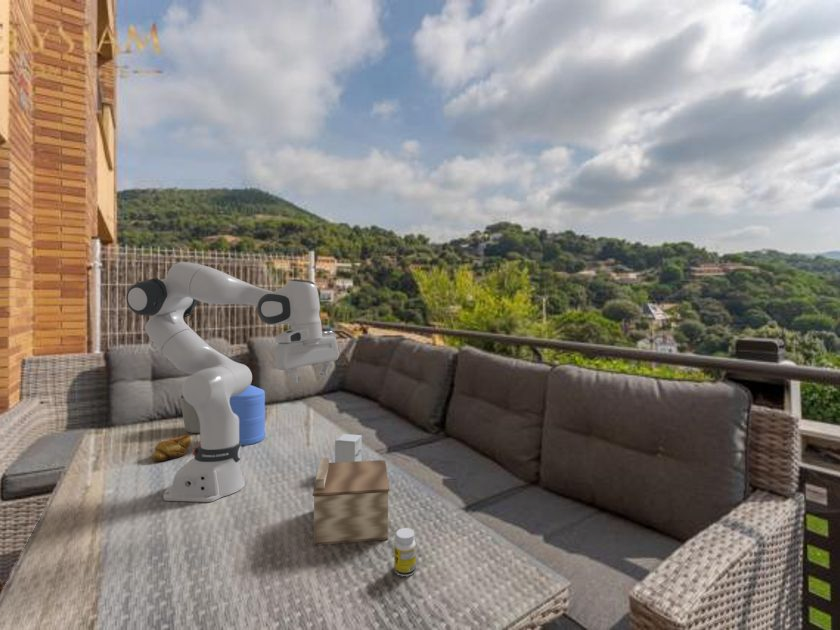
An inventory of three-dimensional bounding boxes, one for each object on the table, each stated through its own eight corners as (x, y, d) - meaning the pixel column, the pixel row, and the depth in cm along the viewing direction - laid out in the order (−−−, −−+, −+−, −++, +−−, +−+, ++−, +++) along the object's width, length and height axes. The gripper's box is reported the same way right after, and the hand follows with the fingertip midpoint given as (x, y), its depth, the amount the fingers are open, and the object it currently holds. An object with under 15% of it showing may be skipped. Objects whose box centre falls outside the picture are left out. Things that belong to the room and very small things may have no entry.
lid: (312, 496, 96) (312, 483, 96) (320, 465, 114) (320, 455, 114) (389, 491, 99) (389, 479, 99) (385, 462, 117) (385, 451, 117)
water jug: (272, 438, 173) (272, 374, 173) (239, 449, 160) (239, 380, 160) (250, 432, 182) (250, 371, 181) (217, 441, 169) (217, 376, 168)
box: (313, 545, 96) (314, 496, 96) (321, 507, 114) (321, 466, 114) (387, 539, 99) (388, 491, 99) (383, 503, 117) (384, 463, 117)
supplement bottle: (394, 563, 90) (394, 527, 90) (414, 562, 90) (415, 526, 90) (394, 578, 85) (394, 539, 85) (416, 577, 86) (416, 538, 85)
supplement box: (354, 478, 134) (354, 441, 133) (334, 476, 135) (334, 440, 135) (362, 470, 141) (362, 434, 141) (342, 468, 142) (342, 433, 142)
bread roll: (157, 465, 144) (157, 443, 143) (145, 459, 149) (145, 438, 149) (193, 454, 154) (193, 434, 154) (181, 449, 160) (181, 429, 160)
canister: (197, 423, 195) (197, 380, 194) (231, 425, 192) (231, 381, 192) (169, 435, 177) (169, 388, 176) (206, 437, 174) (206, 389, 174)
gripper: (328, 330, 128) (332, 372, 128) (269, 337, 112) (274, 386, 112) (341, 329, 124) (345, 373, 124) (281, 337, 108) (286, 387, 108)
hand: (310, 379), depth 118 cm, fingers open, 8 cm apart
